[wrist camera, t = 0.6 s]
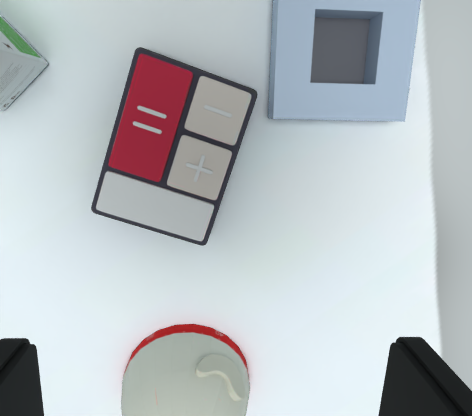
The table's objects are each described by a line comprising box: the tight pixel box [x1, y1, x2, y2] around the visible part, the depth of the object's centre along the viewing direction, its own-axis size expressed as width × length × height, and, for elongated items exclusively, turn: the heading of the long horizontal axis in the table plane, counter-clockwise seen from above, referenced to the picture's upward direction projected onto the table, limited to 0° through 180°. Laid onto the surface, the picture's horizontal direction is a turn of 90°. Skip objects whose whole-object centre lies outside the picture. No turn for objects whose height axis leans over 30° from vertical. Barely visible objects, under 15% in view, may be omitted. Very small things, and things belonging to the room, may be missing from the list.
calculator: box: [91, 47, 257, 245], centre depth 34 cm, size 11×4×15 cm
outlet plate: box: [268, 0, 421, 122], centre depth 33 cm, size 12×12×3 cm
